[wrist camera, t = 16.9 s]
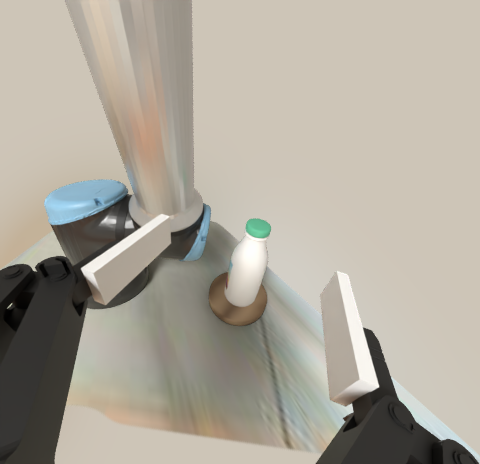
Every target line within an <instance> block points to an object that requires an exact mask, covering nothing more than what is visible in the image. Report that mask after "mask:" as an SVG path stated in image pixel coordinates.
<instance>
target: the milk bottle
mask: <svg viewBox="0 0 480 464" xmlns="http://www.w3.org/2000/svg"><path fill="white" fill-rule="evenodd" d="M270 231H271V226H270V224H268V223H267V222H266V221H264V220H261V219H250V220H248V222H247V224H246V229H245V236H244V238H243V239H242V240H241V241H240V242H239V244H238V245H237V246H236V247H235V249H234V251H233V254H232V257H231V261H230V265H229V270H228V275H227V279H226V284H225V291H224V292H225V296H226V298H227V300H228V301H229V302H230V303H231V304H233V305H235V306H238V307H246V306H249V305H250V304H252V303H253V302H254V301H255V298H256V296H257V293H258V291H259V288H260V285H261V282H262V279H263V276H264V273H265V270H266V267H267V263H268V253H267V248H266V240H267V239H268V237H269V234H270Z"/></svg>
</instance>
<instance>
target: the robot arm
mask: <svg viewBox="0 0 480 464" xmlns="http://www.w3.org/2000/svg"><path fill="white" fill-rule="evenodd" d="M65 2H66V5H67V8H68V10H69V13H70V16H71V19H72V22H73V24H74V27H75V30H76V33H77V36H78V38H79V41H80V44H81V46H82V49H83V52H84V55H85V58H86V61H87V63H88V66H89V69H90V72H91V74H92V77H93V80H94V83H95V86H96V88H97V91H98V94H99V97H100V100H101V102H102V105H103V108H104V111H105V114H106V116H107V119H108V122H109V125H110V128H111V130H112V133H113V136H114V139H115V141H116V144H117V147H118V150H119V152H120V155H121V158H122V160H123V164H124V166H125V169H126V172H127V175H128V178H129V180H130V183H131V186H132V189H133V192H134V194H133V195H129V194H127V193H128V189H127V188H126V186H125V185H124V184H123V183H121V182H119V181H115V180H90V181H83V182H77V183H73V184H69V185H66V186H64V187H61V188H59V189H56V190H54V191H53V192H52V193H50V194H49V195H48V196H47V197H46V199H45V204H44V205H45V209H46V212H47V214H48V217H49V219H48V221H49V223H50V224H51V226H52V228H53V231H54V233H55V235H56V237H57V239H58V241H59V243H60V245H61V247H62V249H63V251H64V253H65V255H66V257H64V256H56V257H51V258H48V259H45V260H43V261H41V262H40V263H38V264H37V265H36V267H35V268H36V270H37V272H35V271H33V270H32V268H31V267H30V266H29V265H26V264H17V265H13V266H9V267H7V268H4V269H2V270H0V464H55V463H54V459H55V452H56V447H57V442H58V438H59V433H60V429H61V424H62V420H63V415H64V410H65V406H66V401H67V397H68V392H69V387H70V383H71V378H72V374H73V369H74V364H75V360H76V355H77V351H78V346H79V341H80V337H81V332H82V328H83V323H84V318H85V314H86V309H87V308H90V309H104V308H110V307H114V306H117V305H120V304H122V303H125V302H127V301H128V300H130V299H132V298H133V297H135V296H136V295H137V294H138V293H139V292H140V291H141V290H142V289H143V288H144V287H145V285H146V283H147V281H148V277H149V272H148V265H149V264H150V263H151V262H152V261H153V260H154V259H155V258H162V259H174V260H179V261H185V260H191V261H195V260H198V259H199V258H200V257H201V256H202V254H203V251H204V248H205V244H206V237H207V234H208V230H209V224H210V216H211V208H210V206H208V205H206V204H204V203H203V201H202V197H201V195H200V194H199V193H198V191H197V190H195V189H194V148H193V62H192V59H193V58H192V0H65ZM320 298H321V309H322V320H323V331H324V341H325V352H326V363H327V374H328V385H329V396H330V400H331V401H334V402H336V403H339V404H341V405H343V406H347V405H349V404H351V403H352V405H353V411H354V412H353V413H351V414H349V415H347V416H346V417H344V418H343V419H344V421H346V422H345V423H344V424H343V426H342V427H341V429H340V430H339V432H338V433H337V434H336V436H335V437H334V439H333V440H332V441H331V443H330V444H329V446H328V447H327V448H326V450H325V451H324V453H323V454H322V455H321V457H320V458H319V460H318V461H317V463H316V464H479V463H478V462H477V460H476V459H475V458H474V456H473V455H472V454H471V453H470V452H469V451H468V450H467V449H466V448H465V447H464V446H462V445H461V444H459V443H458V442H456V441H454V440H450V439H446V440H442V441H441V440H439V439H438V438H437V437H435V436H434V435H433V434H431V433H430V432H429V431H427V430H426V429H425V428H423V427H422V426H421V425H419V424H418V423H417V422H416V421H415V420H414V418H413V416H412V414H411V412H410V411H409V410H408V409H407V407H406V406H405V405H404V404H403V403H402V402H400V401H399V399H398V397H397V394H396V391H395V388H394V385H393V382H392V379H391V376H390V374H389V370H388V368H387V365H386V362H385V359H384V355H383V353H382V350H381V346H380V343H379V341H378V339H377V338H376V336H375V335H374V333H373V332H372V331H371V330H369V329H366V328H363V327H362V324H361V320H360V316H359V313H358V309H357V306H356V302H355V298H354V295H353V291H352V288H351V284H350V281H349V277H348V274H345V273H342V272H339V271H336V273H335V274H334V275H333V277H332V278H331V280H330V281H329V283H328V284H327V286H326V287H325V289H324V290H323V292H322V293H321V295H320ZM11 303H12V305H11V306H10V307H9V308H8V306H9V305H10V304H11ZM7 308H8V309H7Z"/></svg>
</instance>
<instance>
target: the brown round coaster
mask: <svg viewBox="0 0 480 464" xmlns="http://www.w3.org/2000/svg"><path fill="white" fill-rule="evenodd" d="M227 275H228V272H226V273H223V274H221V275H219V276H218V277H217V278H216V279H215V280H214V281H213V282H212V284H211V287H210V291H209V304H210V307H211V309H212V311H213V312H214V314H215V315H216V316H217V317H218V318H219V319H221V320H222V321H224V322H226V323H228V324H231V325H236V326H245V325H249V324H252V323H254V322H255V321H257V320H258V319H259V318H260V317H261V315H262V314H263V312H264V309H265V307H266V304H267V295H266V291H265V289H264V287H263V286H262V284H261V285H260V288H259V291H258V293H257V296H256V298H255V301H254V302H253V303H252V304H250V305H249V306H246V307H238V306H235V305H233V304H231V303H230V302H229V301H228V300H227V298H226V296H225V292H224V291H225V284H226V279H227Z"/></svg>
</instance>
